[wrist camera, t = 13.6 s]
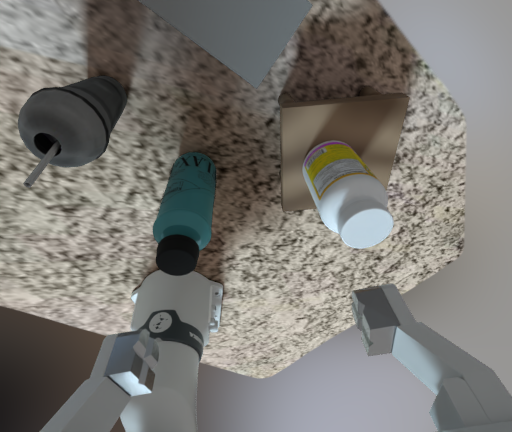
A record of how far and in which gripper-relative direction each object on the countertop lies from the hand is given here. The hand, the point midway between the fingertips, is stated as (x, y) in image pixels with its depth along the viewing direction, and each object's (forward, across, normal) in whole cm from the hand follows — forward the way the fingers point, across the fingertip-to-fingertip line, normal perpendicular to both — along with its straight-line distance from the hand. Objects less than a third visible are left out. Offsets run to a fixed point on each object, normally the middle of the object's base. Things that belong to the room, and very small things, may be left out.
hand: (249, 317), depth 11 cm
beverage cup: (+33, +16, -3) cm, 37 cm away
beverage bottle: (+33, +8, +9) cm, 36 cm away
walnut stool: (+33, -11, +8) cm, 36 cm away
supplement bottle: (+25, -10, +9) cm, 28 cm away
